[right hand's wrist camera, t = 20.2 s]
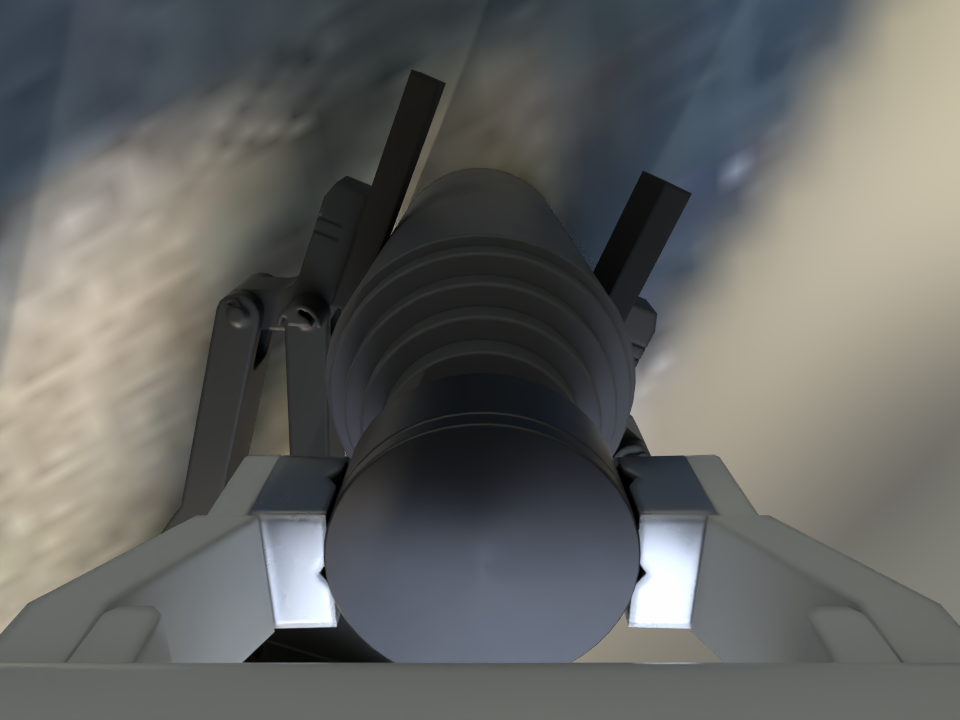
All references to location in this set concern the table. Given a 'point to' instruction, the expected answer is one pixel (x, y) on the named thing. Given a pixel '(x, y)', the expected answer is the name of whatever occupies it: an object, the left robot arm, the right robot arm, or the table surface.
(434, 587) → the cap
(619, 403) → the bottle
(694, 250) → the table surface
